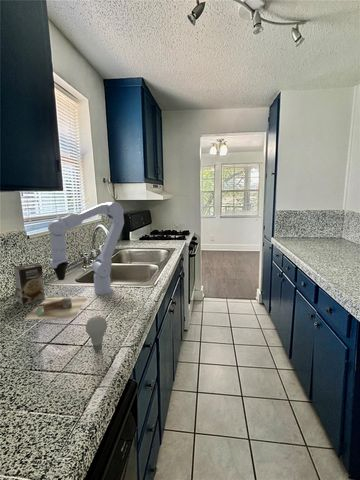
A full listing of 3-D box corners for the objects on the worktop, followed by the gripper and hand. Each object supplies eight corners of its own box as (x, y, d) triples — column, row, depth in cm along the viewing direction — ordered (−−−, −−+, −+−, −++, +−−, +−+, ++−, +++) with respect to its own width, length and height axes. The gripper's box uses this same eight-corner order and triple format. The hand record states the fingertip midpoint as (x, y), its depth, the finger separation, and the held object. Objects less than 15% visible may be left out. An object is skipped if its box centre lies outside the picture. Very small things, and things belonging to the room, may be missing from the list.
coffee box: (23, 307, 105) (19, 270, 103) (17, 303, 109) (13, 267, 107) (45, 300, 113) (42, 265, 110) (38, 296, 116) (35, 262, 114)
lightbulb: (100, 342, 81) (99, 310, 79) (112, 349, 77) (110, 316, 75) (83, 351, 76) (81, 317, 74) (94, 359, 72) (92, 324, 70)
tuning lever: (70, 303, 106) (70, 297, 106) (72, 306, 103) (72, 299, 103) (39, 310, 100) (38, 303, 99) (40, 313, 97) (39, 306, 96)
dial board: (47, 300, 113) (46, 297, 113) (88, 298, 114) (88, 296, 114) (24, 321, 93) (23, 318, 93) (74, 320, 95) (74, 317, 95)
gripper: (55, 245, 113) (57, 274, 116) (41, 253, 99) (44, 285, 102) (71, 245, 114) (73, 274, 117) (60, 252, 100) (62, 285, 102)
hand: (61, 279), depth 109 cm, fingers closed
